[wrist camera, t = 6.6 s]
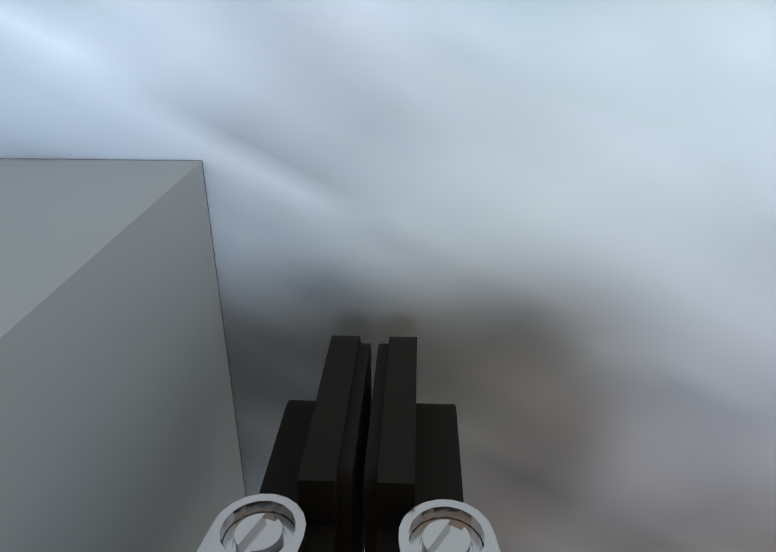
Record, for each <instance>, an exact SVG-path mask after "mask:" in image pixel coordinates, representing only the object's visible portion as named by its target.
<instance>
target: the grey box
mask: <svg viewBox="0 0 776 552" xmlns="http://www.w3.org/2000/svg"><path fill="white" fill-rule="evenodd" d="M244 497H246V495H245V487H244V480H243V472H242V464H241V457H240V449H239V442H238V434H237V426H236V419H235V411H234V403H233V396H232V388H231V381H230V373H229V365H228V358H227V350H226V342H225V335H224V327H223V319H222V312H221V304H220V297H219V289H218V281H217V274H216V266H215V258H214V251H213V243H212V236H211V228H210V220H209V213H208V205H207V197H206V190H205V182H204V174H203V167H202V161H173V160H70V159H0V552H196V551H197V550H198V548H199V546H200V544H201V543H202V541H203V539H204V537H205V536H206V534H207V532H208V530H209V529H210V527H211V525H212V523H213V522H214V520H215V519H216V518H217V516H218V515H219V514H220V513H221V511H222V510H224V509H225V508H226V507H228V506H229V505H231V504H232V503H233V502H235V501H238V500H240V499H242V498H244Z"/></svg>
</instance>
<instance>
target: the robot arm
mask: <svg viewBox="0 0 776 552" xmlns="http://www.w3.org/2000/svg"><path fill="white" fill-rule="evenodd" d="M416 363H417V337H390V338H389V344H379V345H378V353H377V362H376V370H375V379H374V388H373V397H372V387H371V345H370V344H364V343H361V340H360V336H332V338H331V341H330V346H329V350H328V354H327V358H326V362H325V366H324V370H323V374H322V378H321V383H320V387H319V391H318V395H317V399H316V401H305V400H290V401H288V403H287V406H286V408H285V412H284V415H283V418H282V421H281V425H280V428H279V431H278V434H277V437H276V441H275V444H274V447H273V450H272V454H271V457H270V460H269V463H268V467H267V470H266V473H265V476H264V480H263V483H262V486H261V489H260V493H259V494H257V495H252V496H247V497H244V498H242V499H240V500H238V501H235V502H233V503H232V504H231V505H229V506H228V507H226V508H225V509H224V510H222V511H221V513H220V514H219V515H218V516H217V518H216V519H215V520H214V522H213V523H212V525H211V527H210V529H209V530H208V532H207V534H206V536H205V537H204V539H203V541H202V543H201V544H200V546H199V548H198V550H197V551H196V552H364V548H365V552H500V548H499V545H498V542H497V539H496V536H495V533H494V530H493V528H492V526H491V524H490V523H489V521H488V519H487V518H486V517H485V516H484V515H483V514H482V513H481V512H480V511H479V510H477V509H475V508H473V507H471V506H470V505H468V504H466V503H463V490H462V477H461V465H460V452H459V439H458V426H457V414H456V406H455V404H422V403H416Z"/></svg>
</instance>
